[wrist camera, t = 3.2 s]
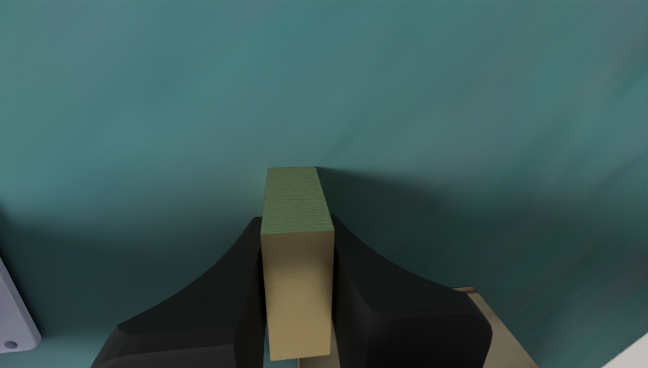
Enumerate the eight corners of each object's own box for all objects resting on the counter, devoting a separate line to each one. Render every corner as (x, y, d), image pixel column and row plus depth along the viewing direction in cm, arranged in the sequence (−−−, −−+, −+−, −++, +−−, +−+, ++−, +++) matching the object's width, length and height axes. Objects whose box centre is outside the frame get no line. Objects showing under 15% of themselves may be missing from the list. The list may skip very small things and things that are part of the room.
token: (274, 264, 15) (270, 361, 10) (267, 168, 12) (260, 234, 8) (314, 261, 15) (329, 354, 10) (315, 166, 13) (334, 230, 8)
